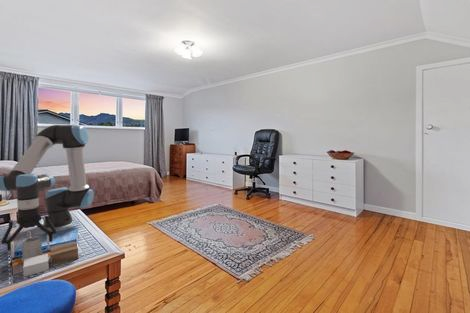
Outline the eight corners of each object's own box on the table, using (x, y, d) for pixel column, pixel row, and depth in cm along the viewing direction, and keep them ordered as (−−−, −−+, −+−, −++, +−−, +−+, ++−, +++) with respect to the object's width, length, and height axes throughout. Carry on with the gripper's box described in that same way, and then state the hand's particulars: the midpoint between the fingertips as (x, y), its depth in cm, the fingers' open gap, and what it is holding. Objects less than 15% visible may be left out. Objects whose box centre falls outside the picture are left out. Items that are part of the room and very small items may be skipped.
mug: (23, 266, 103) (21, 240, 103) (18, 257, 111) (17, 232, 110) (45, 259, 109) (43, 234, 108) (39, 251, 117) (37, 228, 116)
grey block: (25, 268, 102) (24, 259, 102) (48, 261, 107) (47, 253, 107) (23, 276, 96) (23, 267, 96) (48, 269, 101) (48, 260, 101)
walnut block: (50, 256, 112) (50, 246, 111) (76, 250, 118) (75, 241, 117) (51, 265, 104) (50, 255, 103) (78, 258, 110) (77, 248, 110)
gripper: (-11, 214, 98) (-7, 264, 99) (61, 204, 113) (63, 247, 115) (-8, 210, 103) (-4, 257, 105) (60, 201, 119) (62, 242, 121)
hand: (31, 252), depth 110 cm, fingers open, 12 cm apart
